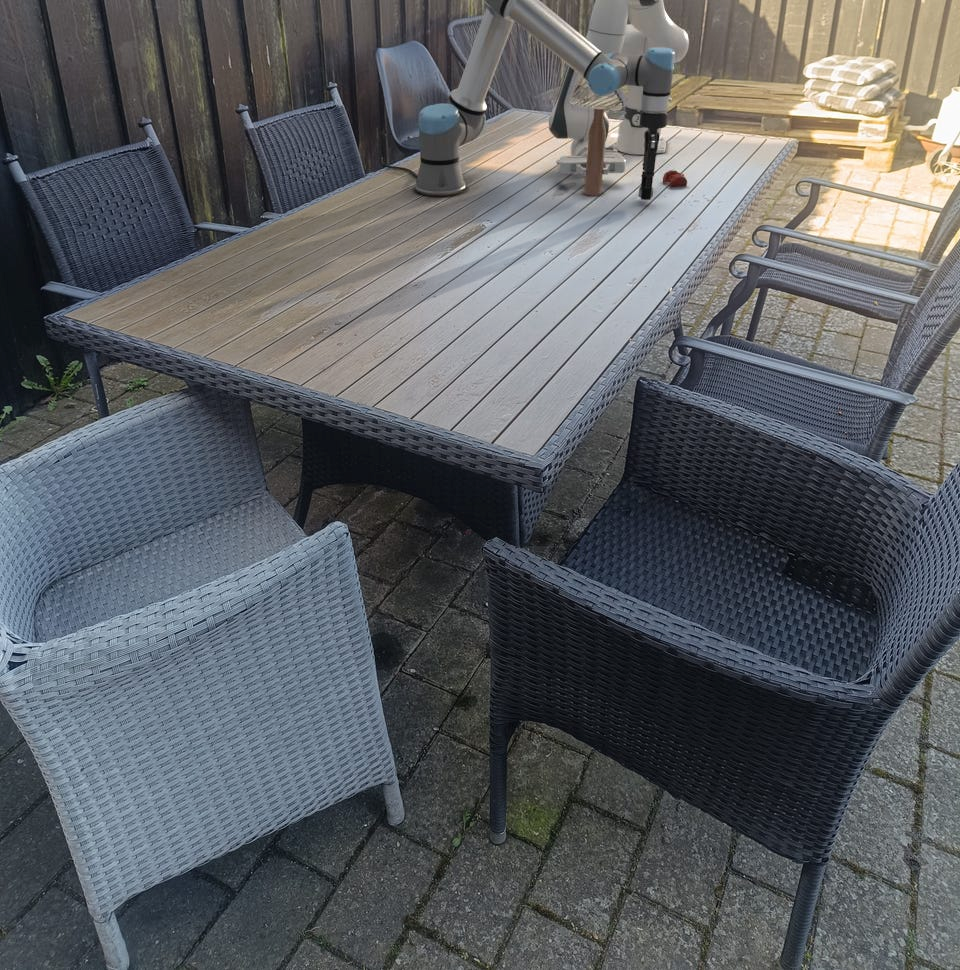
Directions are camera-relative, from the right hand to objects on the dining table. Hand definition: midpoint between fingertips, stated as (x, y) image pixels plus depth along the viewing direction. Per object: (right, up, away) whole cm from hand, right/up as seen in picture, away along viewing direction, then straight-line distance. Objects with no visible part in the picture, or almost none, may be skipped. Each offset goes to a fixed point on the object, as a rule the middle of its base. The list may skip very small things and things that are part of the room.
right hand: (594, 171), depth 251 cm
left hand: (+14, -9, -6) cm, 18 cm away
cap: (+14, -8, -7) cm, 17 cm away
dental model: (+26, 0, +11) cm, 29 cm away
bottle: (0, -5, +5) cm, 7 cm away
